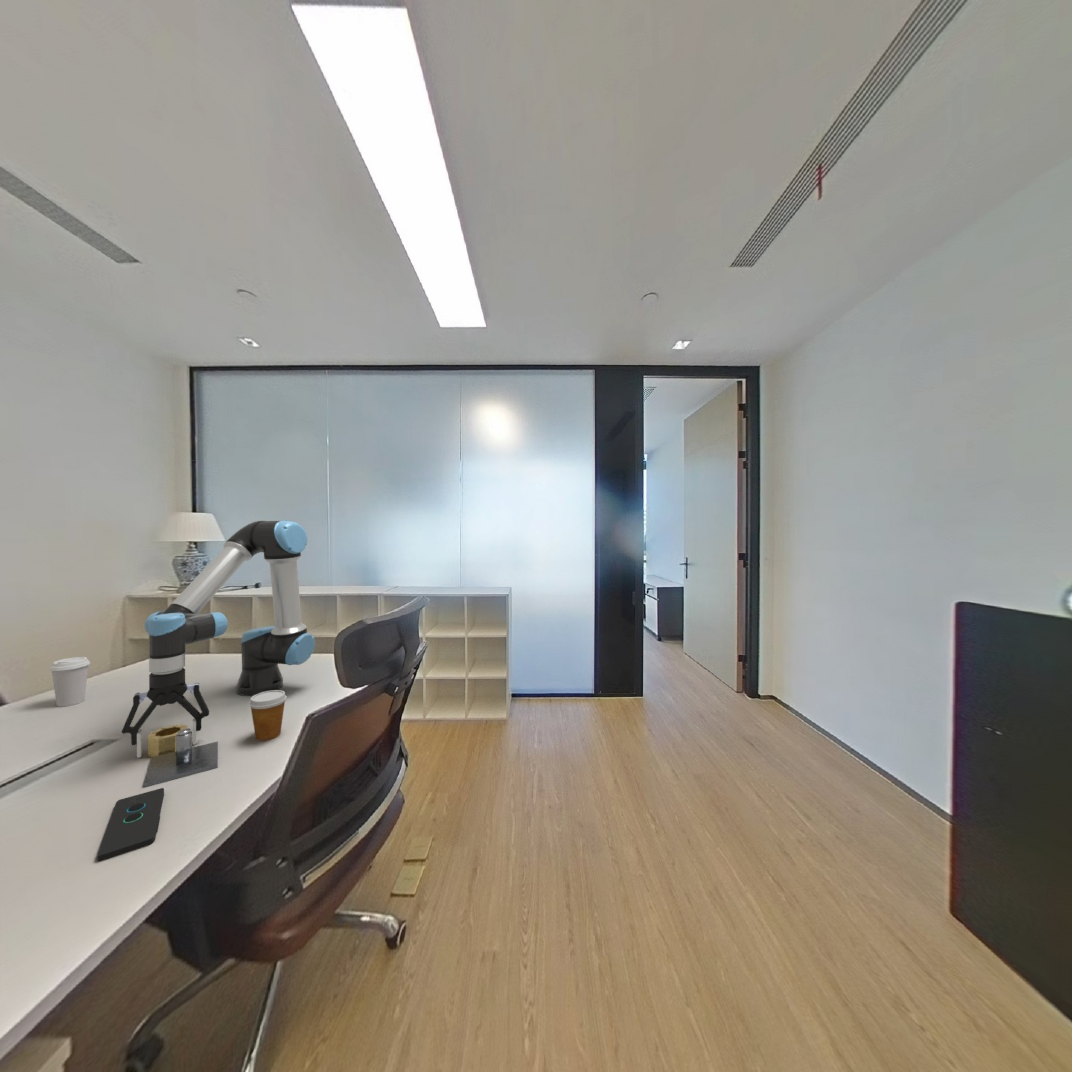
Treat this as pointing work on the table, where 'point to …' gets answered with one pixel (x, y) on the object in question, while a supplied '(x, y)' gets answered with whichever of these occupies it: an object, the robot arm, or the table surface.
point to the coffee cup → (70, 680)
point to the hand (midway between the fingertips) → (167, 748)
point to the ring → (163, 740)
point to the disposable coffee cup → (267, 713)
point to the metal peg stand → (182, 760)
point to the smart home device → (132, 824)
